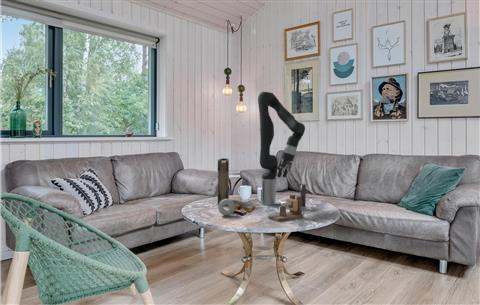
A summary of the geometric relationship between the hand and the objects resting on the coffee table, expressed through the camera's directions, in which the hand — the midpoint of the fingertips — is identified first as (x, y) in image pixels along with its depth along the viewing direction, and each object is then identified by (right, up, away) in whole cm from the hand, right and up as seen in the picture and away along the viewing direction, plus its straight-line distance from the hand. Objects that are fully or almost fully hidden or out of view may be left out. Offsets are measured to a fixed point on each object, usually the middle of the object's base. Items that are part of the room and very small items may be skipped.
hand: (281, 177), depth 227 cm
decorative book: (-38, -19, +21) cm, 47 cm away
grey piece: (+5, -17, -19) cm, 26 cm away
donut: (-34, -21, -18) cm, 44 cm away
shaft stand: (0, -22, -22) cm, 31 cm away
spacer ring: (+4, -17, -20) cm, 27 cm away
